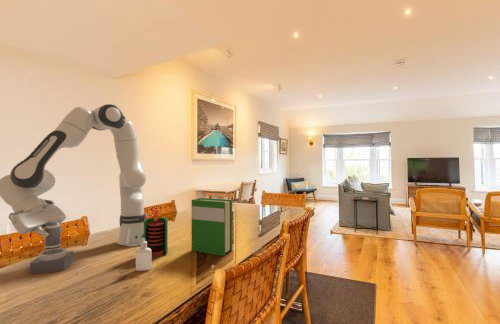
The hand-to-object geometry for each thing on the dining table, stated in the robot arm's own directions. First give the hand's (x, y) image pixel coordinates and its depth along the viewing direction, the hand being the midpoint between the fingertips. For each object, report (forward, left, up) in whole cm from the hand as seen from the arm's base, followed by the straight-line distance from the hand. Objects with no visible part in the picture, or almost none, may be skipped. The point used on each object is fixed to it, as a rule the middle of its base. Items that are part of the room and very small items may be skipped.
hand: (54, 233), depth 106 cm
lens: (+1, 0, -5) cm, 5 cm away
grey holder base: (0, 0, -13) cm, 13 cm away
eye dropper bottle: (-34, +14, -13) cm, 39 cm away
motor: (-38, -3, -13) cm, 40 cm away
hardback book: (-63, +1, -13) cm, 64 cm away
